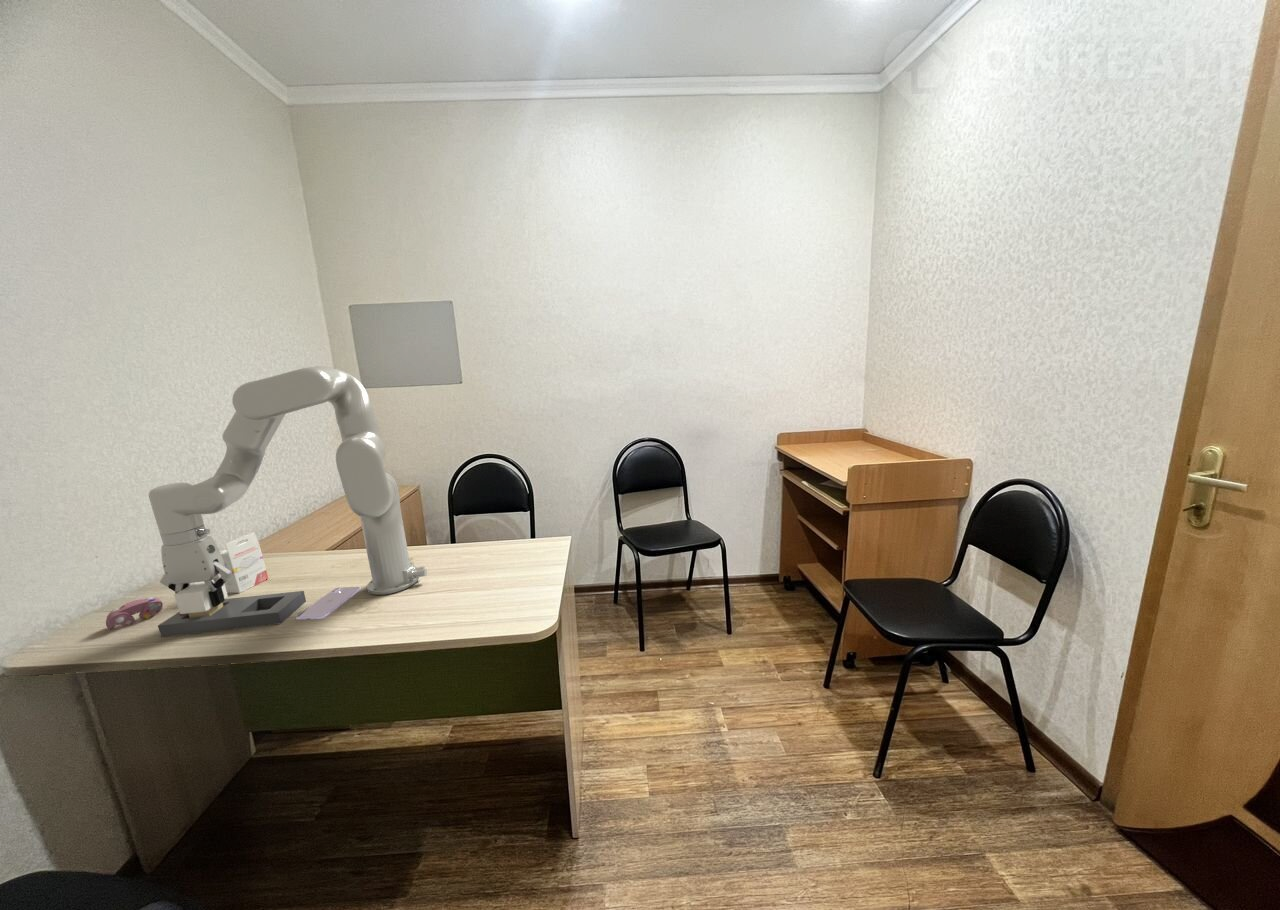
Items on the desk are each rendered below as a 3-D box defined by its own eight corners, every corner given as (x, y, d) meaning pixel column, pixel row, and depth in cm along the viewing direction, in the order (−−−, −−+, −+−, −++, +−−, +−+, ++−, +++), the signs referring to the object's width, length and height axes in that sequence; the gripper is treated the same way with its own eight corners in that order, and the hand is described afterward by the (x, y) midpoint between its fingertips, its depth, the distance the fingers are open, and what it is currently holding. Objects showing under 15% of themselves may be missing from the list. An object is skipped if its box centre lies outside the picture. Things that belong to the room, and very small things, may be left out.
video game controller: (111, 638, 112) (107, 618, 109) (104, 626, 114) (100, 606, 111) (167, 617, 120) (164, 598, 117) (160, 607, 122) (157, 587, 119)
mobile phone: (292, 617, 113) (335, 586, 127) (293, 620, 113) (336, 589, 128) (322, 616, 112) (362, 585, 127) (323, 620, 112) (363, 589, 127)
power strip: (306, 601, 121) (303, 588, 121) (281, 623, 111) (277, 610, 111) (197, 613, 119) (193, 600, 118) (161, 637, 109) (156, 623, 108)
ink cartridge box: (255, 578, 137) (243, 531, 134) (269, 578, 136) (257, 531, 133) (224, 593, 129) (211, 543, 126) (239, 593, 128) (225, 543, 125)
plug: (231, 608, 118) (222, 578, 116) (209, 624, 111) (200, 592, 109) (207, 611, 117) (198, 580, 115) (184, 627, 110) (174, 594, 109)
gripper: (235, 526, 114) (253, 593, 118) (158, 533, 112) (179, 601, 116) (212, 538, 107) (231, 609, 111) (129, 546, 105) (152, 618, 109)
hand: (204, 604), depth 113 cm, fingers closed on plug, 5 cm apart
